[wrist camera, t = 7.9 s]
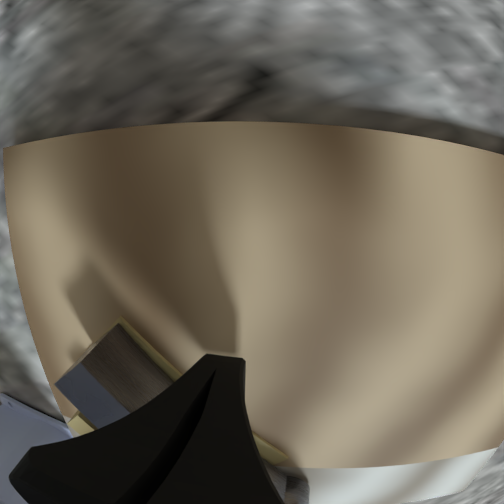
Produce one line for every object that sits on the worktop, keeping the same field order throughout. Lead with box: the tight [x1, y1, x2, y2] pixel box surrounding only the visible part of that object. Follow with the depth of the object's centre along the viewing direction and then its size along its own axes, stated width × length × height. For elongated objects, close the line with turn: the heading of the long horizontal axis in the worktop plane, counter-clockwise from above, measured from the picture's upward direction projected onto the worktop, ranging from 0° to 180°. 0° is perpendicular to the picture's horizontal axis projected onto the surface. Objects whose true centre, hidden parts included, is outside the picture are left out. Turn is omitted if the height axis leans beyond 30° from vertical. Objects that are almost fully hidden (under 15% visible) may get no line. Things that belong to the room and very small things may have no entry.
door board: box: [3, 121, 504, 504], centre depth 11 cm, size 26×20×4 cm
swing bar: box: [54, 323, 310, 504], centre depth 11 cm, size 14×3×4 cm, turn 39°
